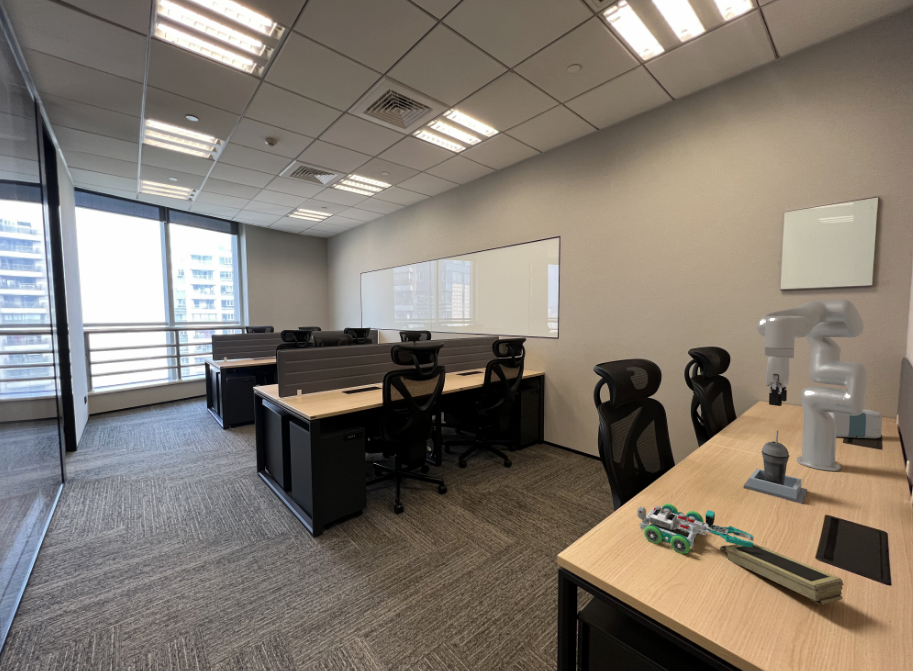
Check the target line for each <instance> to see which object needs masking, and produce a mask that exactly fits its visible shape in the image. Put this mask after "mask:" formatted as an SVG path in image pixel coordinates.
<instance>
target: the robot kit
mask: <svg viewBox="0 0 913 671" xmlns="http://www.w3.org/2000/svg"><path fill="white" fill-rule="evenodd" d="M636 514H637V515H636V516H637V517H638V518H639V519H640V520H641V522H640V523H639V524H640V525H639V528H640V529H641V530H643V534H644V536H645V539H646V540H647V541H648V542H650V543H652V544H660V543H661V542H662V540H663V541H664V542H665V543H668V544H670V545H671V548H672V549H673V550H674V551H675V552H676V553H679V554H682V555H686V554H688V553H689V552H690V550H691V549H690V548H694V542H695V541H694V540H695V538H696V536H697V535H698V534H699V535H703V536H707V533H709V534H713V535H715V536H719V537H720V538H722V539H723V540H725V542H726V543H729V544H731V545H735V544H737V545H741V546H745V547H753V543H754V540H755V539H754V538H755V537H754V535H752V534H750V533H748V532H747V531H744V530H741V529H739V528H737V527H734V526H732V525H729V526H721V525H718V524H717V525H716V524H714V523H715V519H716V518H715V517H716V512H715V511H713V510H709V509H708V510H706V512H705V520H704V518H703V516H702V515H701V514H700V513H699V512H697V511H695V510H690V511H688V512H687V513H686V514H685V513H683V512H681V511H679V510H678V509H677V507H676V506H674V505H673V504H672V503H665V504H663V505H662V507H661V506H659V505H655V506H654V507H652V509H650V511H649V512H648V513H647V509H646V508H645V506H639V507H638V508H637V513H636ZM704 521H705V522H704ZM650 523H651V524H650ZM658 526H659V527H658ZM660 527H661V528H660ZM676 530H680V531H681V532H684V533H685V534H686V533H689V534H688V536H684V535H683V534H681V533H680V534H679V533H675V531H676ZM730 534H733V535H732V536H731V535H730ZM740 537H741V538H740ZM742 538H744V539H742ZM745 539H747V540H745Z"/></svg>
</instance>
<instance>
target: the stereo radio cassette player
mask: <svg viewBox="0 0 913 671" xmlns="http://www.w3.org/2000/svg"><path fill="white" fill-rule="evenodd" d="M865 398H868V396H866V395H865ZM828 413H829V414H830V415H831V416H832V418H833V419H834V420H835V422H836V438H837V437H838V438H857V439H861V438H862V439H863V438H864V439H875V440H876V439H878V438H879V439H880V438H881V437H882V427H883V426H882V425H883V417H882V416H883V415H882V413H881V412H878V411H874V410H870V409H865V408H864V410H863V412H862V413H861V414H860V415H856V416H853V415H845V414H839V413H832V412H831V413H830V412H828ZM856 436H857V437H856Z"/></svg>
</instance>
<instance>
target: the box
mask: <svg viewBox="0 0 913 671" xmlns="http://www.w3.org/2000/svg"><path fill="white" fill-rule="evenodd" d="M719 549H720V551H722V552H726V553H727V558H728V560H729V561H730V562H732V563H734V564H736V565H739V566H741V567H743V568H745V569H748V570H750V571H751V572H754V573H756V574H758V575H760V576H762V577H764V578H766V579H769V580H770V581H772V582H775V583H777V584H779V585H782V587H786V588H787V589H788V590H791V591H794V592H796V593H798V594H800V595H802V596H803V597H807V598H808V599H810V600H811V601H813V602H815V603H816V604H819V605H822V606H823V605H827V604H830V603H832V602H837V601H840V600H843V596H842V594H843V593H842V590H844V588H843V586H844V582H843V580H842V578H841V577H839V576H837V575H833V574H831V573H829V572H826V571H823V570H821V569H818V568H816V567H814V566H812V565H811V566H810V565H809V564H806V563H804V562H801V561H798V560H796V559H794V558H791V557H789V556H786V555H784V554H781V553H779V552H776V551H775V550H774V551H773V550H771V549H770V548H769V549H768V548H767V547H764V546H761V545H759V544H757V543H754V542H753V547H745V546H741V545H737V544H730V545H720V547H719Z"/></svg>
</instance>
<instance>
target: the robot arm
mask: <svg viewBox="0 0 913 671" xmlns="http://www.w3.org/2000/svg"><path fill="white" fill-rule="evenodd" d="M756 328H757V331H758V333H759V335H761V336H763V337H764V357H765V358H767V362H766V373H765V386H767V387H770V388H769V393H768V395H769V396H768V405H769V406H776V407H781V406H782V405H783V403H782V402H787V400H788V399H787V398H788V390H787V385H789V380H790V379H789V378H790V377H789V376H790V359H794V358H795V340H796V339H795V338H806V340H807V342H808V344H809V347H810V348H809V349H810V355H809V364H808V378H809V379H810V380H811V381H812V382H813V383H818V384H822V385H833V386H841V387H842V386H843V387H846V389H845V388H843V389H842V388H834V387H827V386H818V385H817V386H816V385H813V386H807V387H804V388H803V389H802V390H801V391H800V401H801V406H802V441H801V442H802V444H801V446H802V447H801V456H797V458H796V462H797V463H798V464H800V465H802V466H805V467H808V468H812V469H815V470H820V471H828V472H830V471H831V472H837V471H840V470H841V468H842V467H841V465H840V464H838V463H837V462H836V451H837V450H836V448H837V446H836V444H837V437H836V422H835V420H834V419H833V418H832V416H831V415H830V414H829V413H828V412H830V413H831V412H832V413H839V414H845V415H853V416H856V415H860V414H861V413H862V412H863V410H864V409H865V404H866V395H867V394H866V392H867V383H868V374H867V373H868V371H867V368H866V367H865V366H864V365H863V364H862V363H860V362H857V361H844V360H841V346H840V345H839V344H838V343H837V342H836V341H835V340H834V339H833V338H851V339H852V338H857V337H859V336H861V334H863V332H864V328H865V326H864V321H863V318H862V316H861V315H860V313H859V311H858V309H857V307H856V306H855V305H854V303H853V302H851V301H850V300H848V299H843V298H842V299H818V300H815V299H814V300H810V301H808V302H805V303H803V304H802V305H799V306H797V307H792V308H788V309H787V308H786V309H783V310H777V311H772V312H769V313H766V314H765V315H763V316H761V317H760V319H758V322H757V326H756Z"/></svg>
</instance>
